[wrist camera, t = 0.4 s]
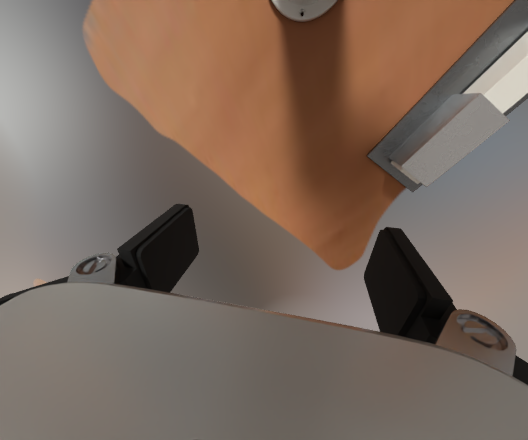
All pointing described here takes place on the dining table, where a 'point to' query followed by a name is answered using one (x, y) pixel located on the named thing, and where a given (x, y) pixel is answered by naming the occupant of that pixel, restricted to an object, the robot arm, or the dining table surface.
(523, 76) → the white rectangular stick
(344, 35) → the dining table surface
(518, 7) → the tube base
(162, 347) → the robot arm
